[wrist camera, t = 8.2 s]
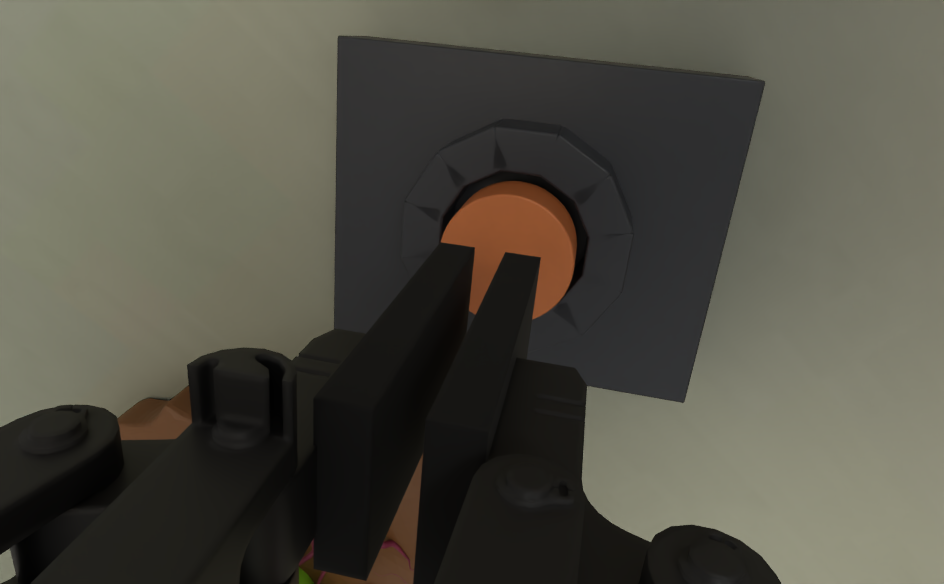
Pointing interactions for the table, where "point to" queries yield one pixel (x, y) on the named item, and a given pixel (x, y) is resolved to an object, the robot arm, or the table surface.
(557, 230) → the bell button
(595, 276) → the doorbell
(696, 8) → the table surface
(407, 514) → the plant
